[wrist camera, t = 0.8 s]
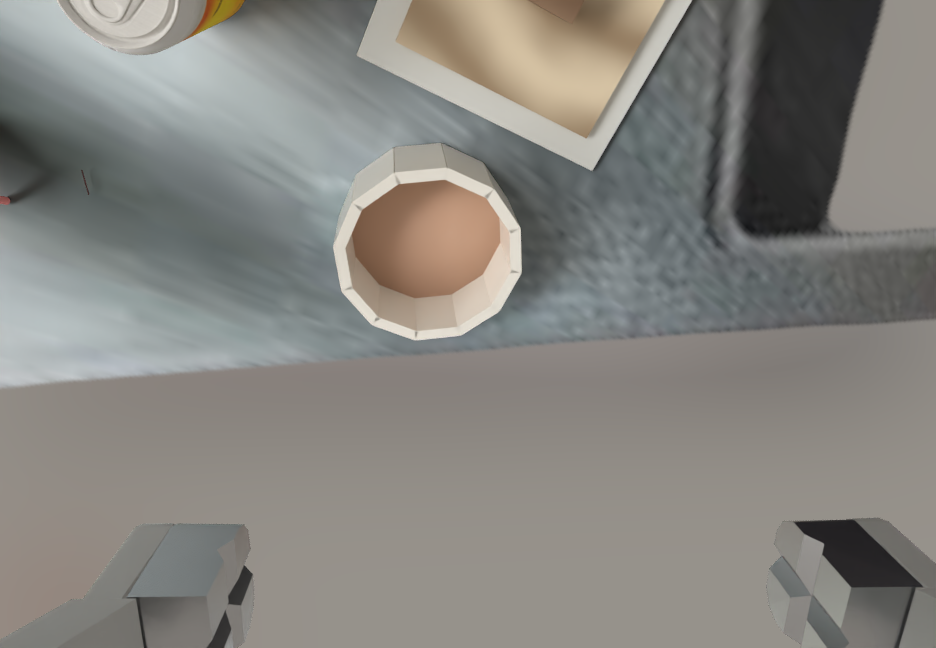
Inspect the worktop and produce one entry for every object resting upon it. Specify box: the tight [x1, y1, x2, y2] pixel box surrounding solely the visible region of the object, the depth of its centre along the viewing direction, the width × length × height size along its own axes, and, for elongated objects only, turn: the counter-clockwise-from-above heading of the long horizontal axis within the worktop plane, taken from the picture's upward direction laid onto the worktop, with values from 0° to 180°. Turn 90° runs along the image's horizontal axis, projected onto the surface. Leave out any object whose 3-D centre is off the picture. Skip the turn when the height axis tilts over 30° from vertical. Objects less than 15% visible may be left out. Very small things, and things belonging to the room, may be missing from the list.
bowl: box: [333, 143, 522, 340], centre depth 48 cm, size 13×13×6 cm
